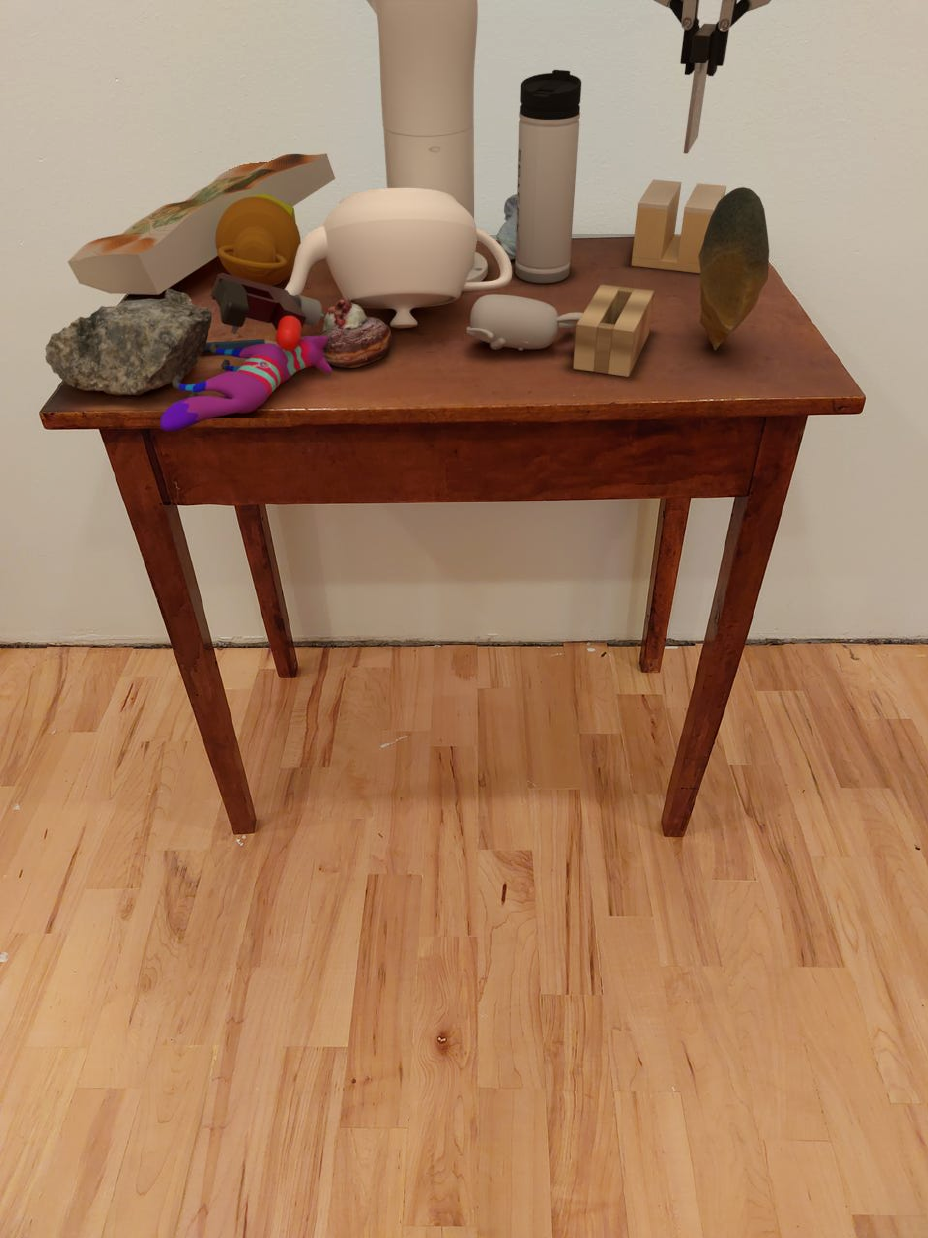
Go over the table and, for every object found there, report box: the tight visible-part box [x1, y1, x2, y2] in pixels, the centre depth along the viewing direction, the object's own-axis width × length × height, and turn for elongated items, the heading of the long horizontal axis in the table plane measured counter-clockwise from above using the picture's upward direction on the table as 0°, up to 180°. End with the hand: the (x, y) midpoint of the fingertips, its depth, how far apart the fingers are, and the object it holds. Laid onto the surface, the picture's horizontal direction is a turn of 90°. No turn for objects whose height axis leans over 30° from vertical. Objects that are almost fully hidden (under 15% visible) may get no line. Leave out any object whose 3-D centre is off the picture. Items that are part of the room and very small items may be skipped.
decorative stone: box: [698, 186, 770, 351], centre depth 85 cm, size 10×6×15 cm, turn 4°
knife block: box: [572, 284, 655, 378], centre depth 89 cm, size 10×5×4 cm, turn 161°
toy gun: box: [209, 272, 325, 351], centre depth 84 cm, size 10×12×5 cm
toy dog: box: [159, 335, 333, 432], centre depth 83 cm, size 4×18×10 cm
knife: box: [683, 23, 717, 155], centre depth 98 cm, size 7×2×11 cm, turn 161°
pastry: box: [316, 296, 393, 369], centre depth 89 cm, size 8×8×5 cm
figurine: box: [496, 193, 517, 261], centre depth 111 cm, size 8×12×7 cm, turn 171°
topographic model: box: [67, 152, 336, 296], centre depth 108 cm, size 30×14×5 cm, turn 145°
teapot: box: [284, 187, 513, 329], centre depth 92 cm, size 25×16×12 cm, turn 104°
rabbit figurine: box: [465, 293, 584, 351], centre depth 90 cm, size 6×5×12 cm
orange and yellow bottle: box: [215, 194, 302, 287], centre depth 102 cm, size 9×9×25 cm
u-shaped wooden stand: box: [631, 179, 727, 274], centre depth 107 cm, size 9×9×7 cm
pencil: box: [202, 338, 277, 354], centre depth 91 cm, size 1×1×15 cm
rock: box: [44, 288, 213, 397], centre depth 85 cm, size 14×10×10 cm
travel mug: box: [514, 69, 582, 285], centre depth 99 cm, size 6×7×20 cm
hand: (700, 71), depth 97 cm, fingers closed on knife, 1 cm apart
